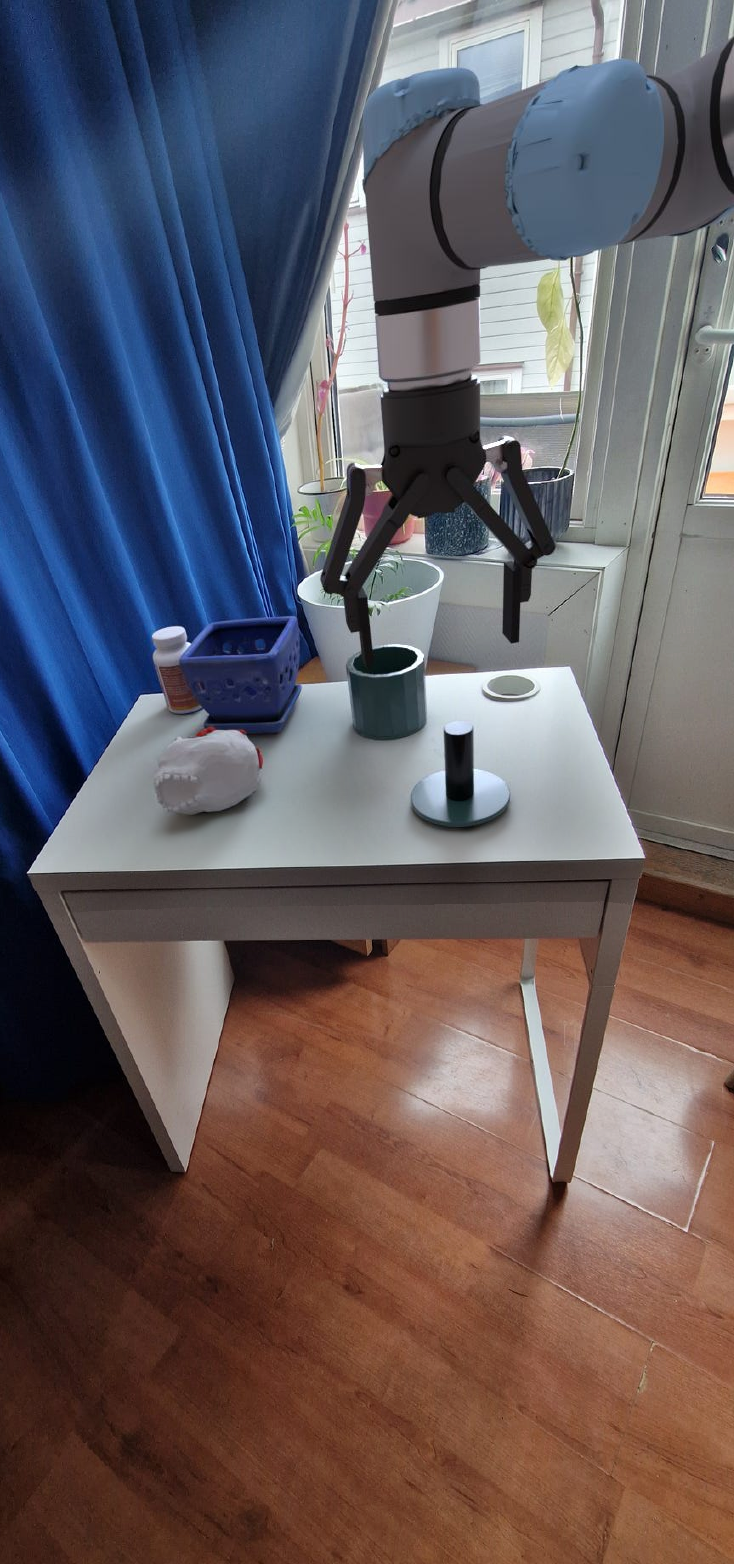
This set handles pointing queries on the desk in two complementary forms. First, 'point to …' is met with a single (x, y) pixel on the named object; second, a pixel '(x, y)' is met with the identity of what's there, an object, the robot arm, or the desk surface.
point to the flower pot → (245, 673)
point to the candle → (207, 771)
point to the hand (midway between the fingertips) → (439, 650)
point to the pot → (388, 692)
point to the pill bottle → (173, 669)
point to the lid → (460, 785)
